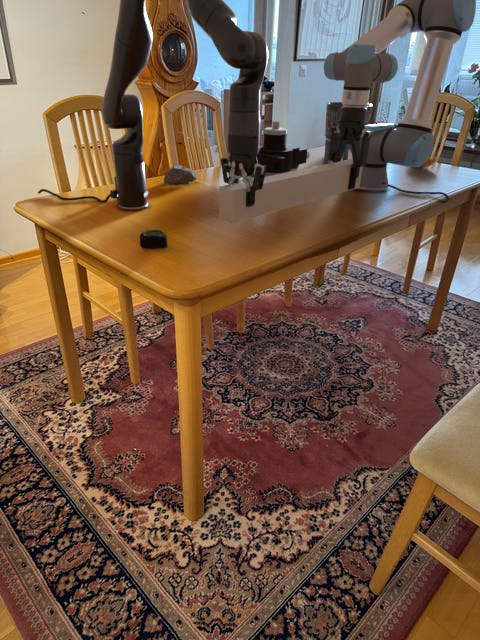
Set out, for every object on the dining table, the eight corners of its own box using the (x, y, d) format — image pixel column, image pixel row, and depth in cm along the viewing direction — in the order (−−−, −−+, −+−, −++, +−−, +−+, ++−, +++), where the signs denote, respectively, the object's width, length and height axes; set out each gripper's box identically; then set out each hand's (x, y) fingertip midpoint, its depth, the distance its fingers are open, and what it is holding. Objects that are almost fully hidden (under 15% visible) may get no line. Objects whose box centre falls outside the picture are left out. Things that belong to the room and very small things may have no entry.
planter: (313, 167, 208) (319, 103, 195) (331, 160, 222) (338, 101, 209) (353, 173, 199) (362, 107, 185) (369, 166, 213) (379, 104, 199)
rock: (189, 177, 184) (188, 161, 181) (201, 182, 179) (201, 165, 176) (161, 182, 177) (159, 165, 173) (173, 187, 171) (172, 170, 168)
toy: (409, 160, 208) (403, 153, 221) (411, 174, 211) (405, 166, 224) (434, 152, 205) (427, 146, 218) (436, 166, 208) (429, 159, 221)
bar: (346, 184, 149) (349, 159, 145) (359, 187, 146) (363, 161, 142) (219, 219, 115) (219, 186, 111) (232, 223, 112) (233, 190, 107)
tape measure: (140, 252, 115) (139, 238, 113) (141, 242, 120) (140, 229, 119) (167, 251, 116) (166, 237, 114) (167, 241, 121) (166, 228, 120)
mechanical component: (240, 120, 182) (283, 115, 202) (239, 174, 192) (280, 164, 212) (283, 126, 170) (325, 120, 190) (280, 183, 180) (320, 171, 200)
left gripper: (211, 129, 108) (212, 200, 117) (254, 137, 99) (251, 213, 108) (234, 127, 113) (233, 195, 121) (277, 134, 104) (272, 207, 113)
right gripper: (321, 104, 135) (313, 183, 147) (374, 109, 124) (361, 194, 136) (336, 103, 140) (328, 179, 152) (388, 108, 129) (375, 190, 140)
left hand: (242, 203), depth 115 cm, fingers closed on bar, 5 cm apart
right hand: (343, 186), depth 144 cm, fingers closed on bar, 5 cm apart
